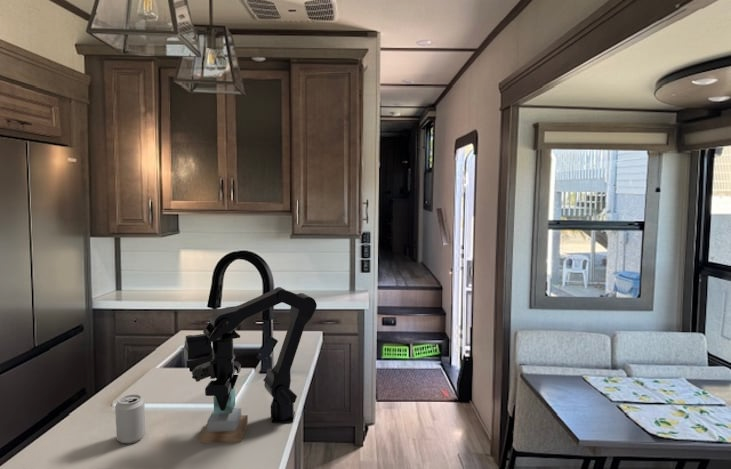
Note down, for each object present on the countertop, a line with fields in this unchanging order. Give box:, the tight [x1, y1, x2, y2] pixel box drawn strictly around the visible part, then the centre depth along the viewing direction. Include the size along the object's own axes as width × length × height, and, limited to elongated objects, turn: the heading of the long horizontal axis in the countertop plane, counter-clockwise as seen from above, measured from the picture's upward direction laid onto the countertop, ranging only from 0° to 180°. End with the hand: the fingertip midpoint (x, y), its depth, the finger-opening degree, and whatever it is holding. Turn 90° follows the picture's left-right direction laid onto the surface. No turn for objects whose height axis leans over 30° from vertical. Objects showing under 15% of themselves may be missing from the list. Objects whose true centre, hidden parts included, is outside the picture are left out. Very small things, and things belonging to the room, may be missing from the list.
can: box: [114, 393, 147, 445], centre depth 142 cm, size 8×8×12 cm
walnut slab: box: [200, 414, 249, 444], centre depth 146 cm, size 11×11×3 cm
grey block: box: [206, 407, 242, 432], centre depth 145 cm, size 8×8×3 cm
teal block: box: [213, 388, 236, 414], centre depth 145 cm, size 5×5×5 cm
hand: (224, 406), depth 145 cm, fingers closed on teal block, 5 cm apart
